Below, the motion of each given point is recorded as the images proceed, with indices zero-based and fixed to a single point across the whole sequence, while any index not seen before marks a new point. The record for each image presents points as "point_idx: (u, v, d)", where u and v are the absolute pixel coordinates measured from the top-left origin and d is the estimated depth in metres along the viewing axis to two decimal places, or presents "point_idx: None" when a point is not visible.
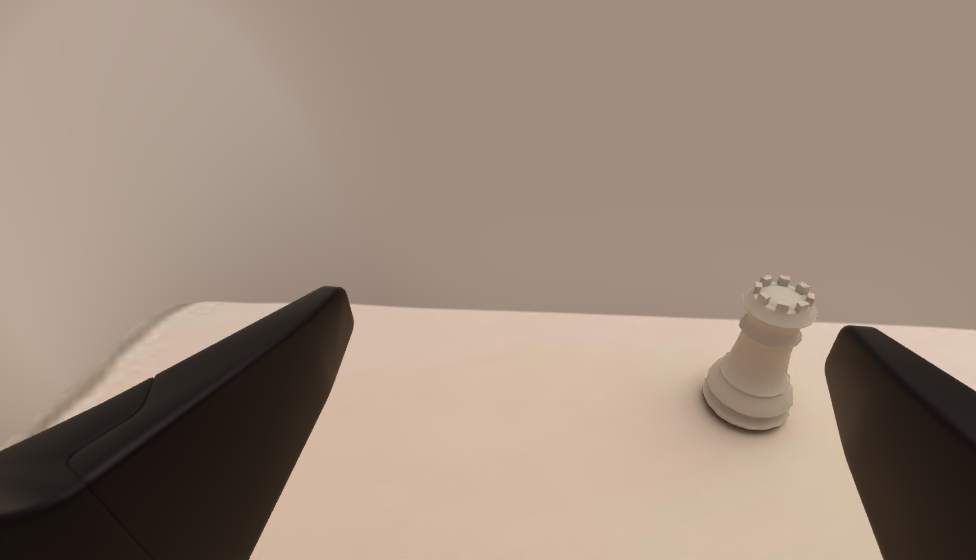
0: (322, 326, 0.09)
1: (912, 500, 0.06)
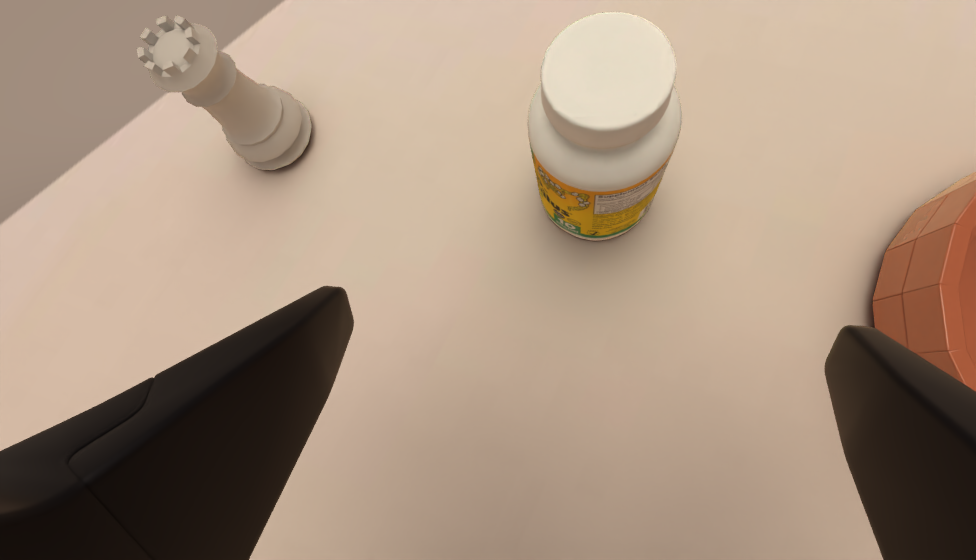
0: (322, 326, 0.09)
1: (912, 500, 0.06)
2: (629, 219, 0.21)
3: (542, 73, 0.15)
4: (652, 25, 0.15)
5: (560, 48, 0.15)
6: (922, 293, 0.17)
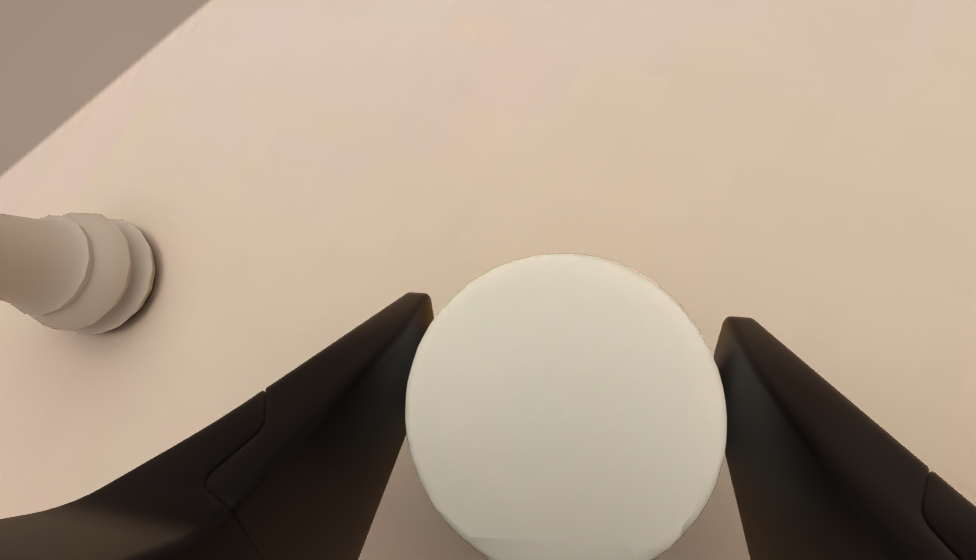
0: (414, 334, 0.09)
1: (761, 480, 0.07)
2: None
3: (408, 404, 0.06)
4: (665, 300, 0.06)
5: (449, 343, 0.06)
6: None
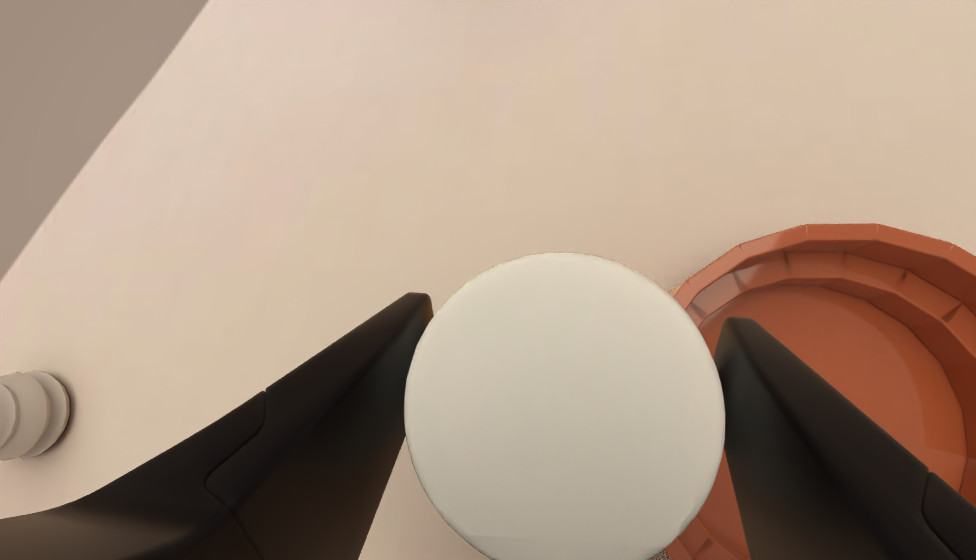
0: (414, 334, 0.09)
1: (762, 480, 0.07)
2: None
3: (407, 402, 0.06)
4: (663, 298, 0.06)
5: (448, 341, 0.06)
6: None
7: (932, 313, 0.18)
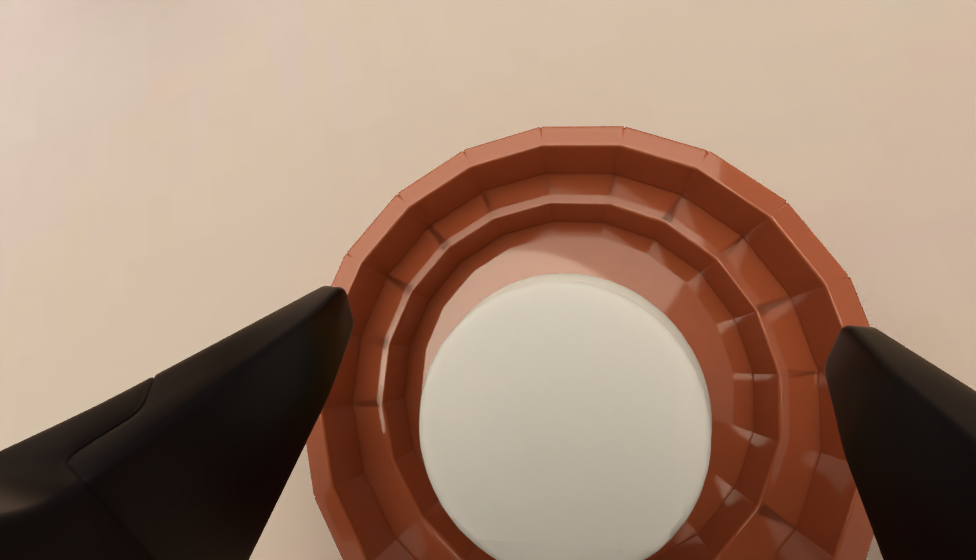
0: (322, 326, 0.09)
1: (912, 500, 0.06)
2: None
3: (422, 418, 0.07)
4: (656, 325, 0.07)
5: (460, 362, 0.07)
6: None
7: (653, 216, 0.15)
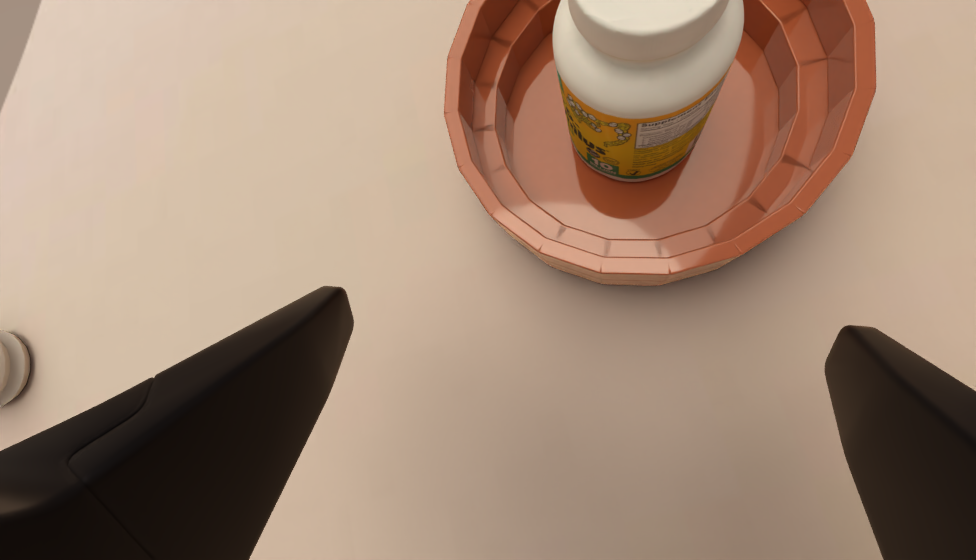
0: (322, 326, 0.09)
1: (912, 500, 0.06)
2: (676, 153, 0.18)
3: None
4: None
5: None
6: None
7: None
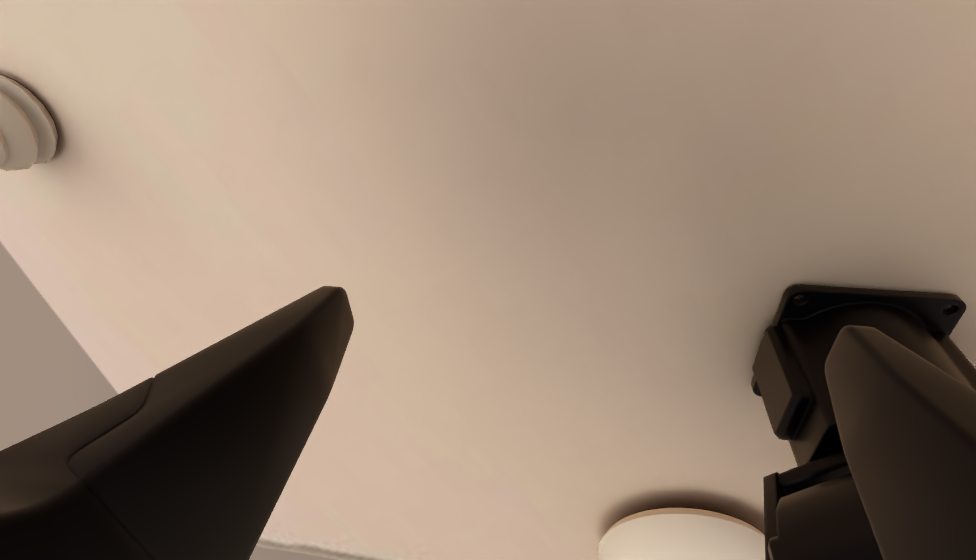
0: (322, 326, 0.09)
1: (912, 500, 0.06)
2: None
3: None
4: None
5: None
6: None
7: None
